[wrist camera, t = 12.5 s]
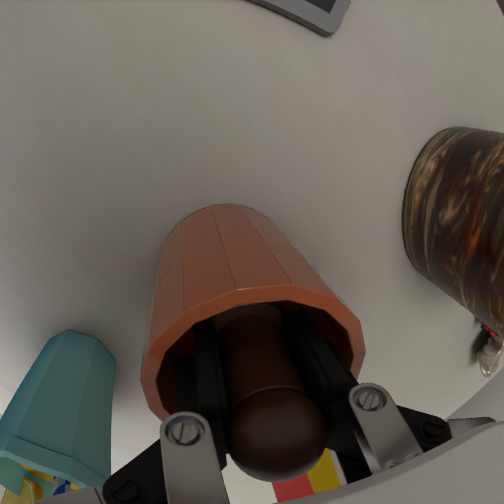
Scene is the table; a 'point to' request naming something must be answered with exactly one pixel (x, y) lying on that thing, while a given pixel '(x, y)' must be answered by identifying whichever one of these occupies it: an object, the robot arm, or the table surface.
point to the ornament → (490, 355)
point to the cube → (309, 481)
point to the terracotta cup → (232, 290)
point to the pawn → (266, 396)
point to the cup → (59, 422)
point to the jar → (460, 219)
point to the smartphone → (311, 12)
